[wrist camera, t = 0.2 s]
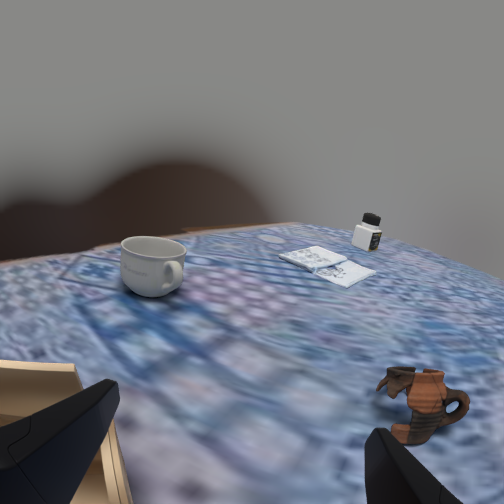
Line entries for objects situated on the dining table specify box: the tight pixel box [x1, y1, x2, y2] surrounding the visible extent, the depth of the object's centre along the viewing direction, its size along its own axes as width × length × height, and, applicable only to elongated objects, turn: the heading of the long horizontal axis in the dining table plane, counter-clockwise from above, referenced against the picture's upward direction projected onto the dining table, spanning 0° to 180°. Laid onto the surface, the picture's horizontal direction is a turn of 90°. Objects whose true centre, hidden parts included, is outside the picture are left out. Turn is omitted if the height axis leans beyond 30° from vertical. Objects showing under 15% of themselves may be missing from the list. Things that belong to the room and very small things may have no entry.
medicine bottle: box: [351, 213, 382, 252], centre depth 99 cm, size 7×7×12 cm
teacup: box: [120, 236, 187, 297], centre depth 48 cm, size 14×11×8 cm
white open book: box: [279, 246, 376, 288], centre depth 76 cm, size 19×20×2 cm
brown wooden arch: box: [376, 367, 470, 444], centre depth 28 cm, size 12×10×8 cm
